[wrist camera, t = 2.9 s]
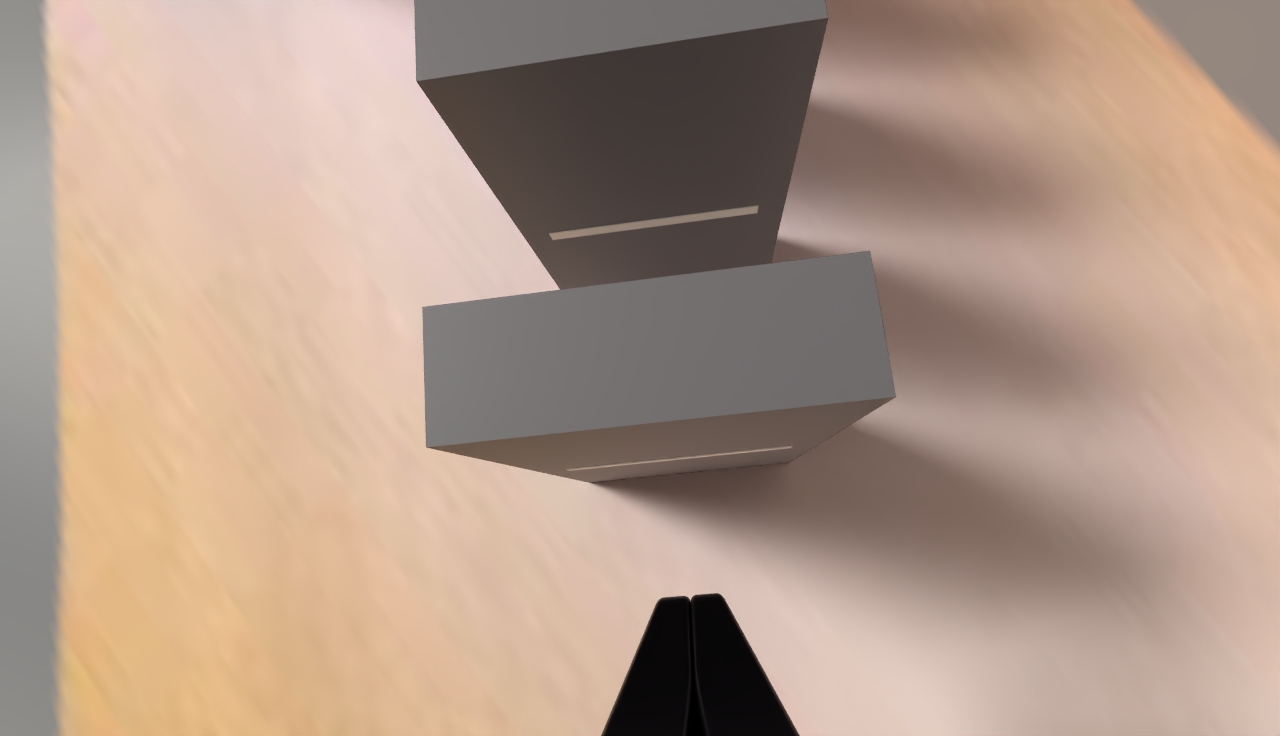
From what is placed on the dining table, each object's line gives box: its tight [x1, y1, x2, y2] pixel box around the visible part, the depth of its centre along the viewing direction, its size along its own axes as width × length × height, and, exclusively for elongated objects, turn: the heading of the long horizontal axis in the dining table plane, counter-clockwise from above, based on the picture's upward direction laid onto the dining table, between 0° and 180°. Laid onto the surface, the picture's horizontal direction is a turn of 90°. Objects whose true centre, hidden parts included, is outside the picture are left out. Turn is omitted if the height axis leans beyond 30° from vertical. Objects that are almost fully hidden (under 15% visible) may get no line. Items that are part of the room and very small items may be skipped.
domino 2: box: [423, 251, 896, 483], centre depth 12 cm, size 2×5×10 cm, turn 95°
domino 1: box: [414, 0, 828, 290], centre depth 13 cm, size 2×5×10 cm, turn 95°
